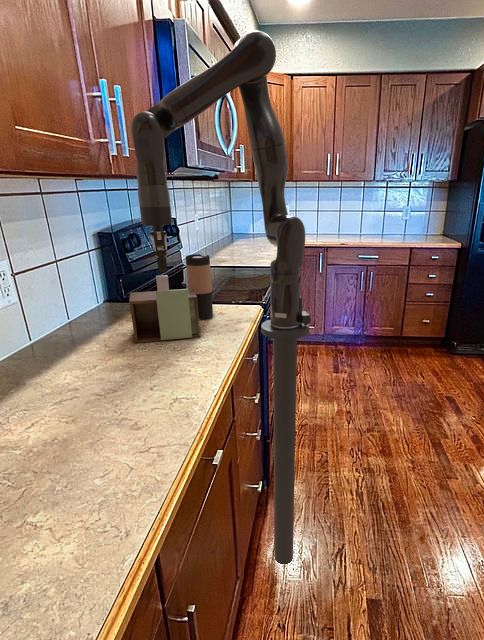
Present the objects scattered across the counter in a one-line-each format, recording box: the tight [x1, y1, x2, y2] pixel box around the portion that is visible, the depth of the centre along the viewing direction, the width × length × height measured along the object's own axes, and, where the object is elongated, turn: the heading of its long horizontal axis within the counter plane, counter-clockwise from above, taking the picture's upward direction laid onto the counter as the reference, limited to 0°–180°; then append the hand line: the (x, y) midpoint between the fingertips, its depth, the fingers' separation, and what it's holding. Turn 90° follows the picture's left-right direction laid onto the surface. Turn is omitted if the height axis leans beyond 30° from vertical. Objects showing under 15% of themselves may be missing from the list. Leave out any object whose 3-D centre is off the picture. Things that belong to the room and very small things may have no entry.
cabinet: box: [128, 288, 201, 344], centre depth 122 cm, size 18×10×12 cm, turn 108°
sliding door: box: [154, 274, 192, 341], centre depth 117 cm, size 9×2×18 cm, turn 108°
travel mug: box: [185, 253, 214, 321], centre depth 137 cm, size 8×8×20 cm
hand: (162, 269), depth 112 cm, fingers open, 8 cm apart
